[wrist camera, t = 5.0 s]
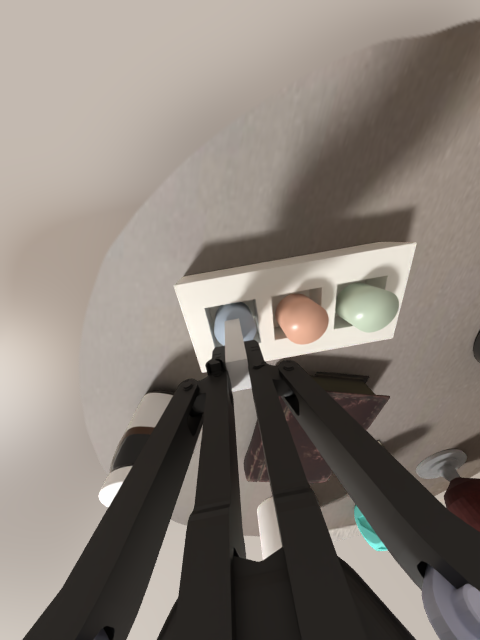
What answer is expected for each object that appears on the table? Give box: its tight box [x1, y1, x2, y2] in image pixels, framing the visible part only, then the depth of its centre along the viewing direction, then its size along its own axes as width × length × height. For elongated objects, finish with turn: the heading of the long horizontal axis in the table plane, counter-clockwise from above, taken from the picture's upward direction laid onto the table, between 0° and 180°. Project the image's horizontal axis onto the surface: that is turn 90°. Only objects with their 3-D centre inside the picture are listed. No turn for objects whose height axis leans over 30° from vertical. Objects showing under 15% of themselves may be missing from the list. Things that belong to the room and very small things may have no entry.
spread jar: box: [99, 391, 202, 507], centre depth 25 cm, size 12×11×12 cm
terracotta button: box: [275, 294, 329, 345], centre depth 19 cm, size 4×4×3 cm
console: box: [174, 242, 417, 373], centre depth 21 cm, size 24×11×4 cm, turn 99°
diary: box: [244, 372, 390, 483], centre depth 33 cm, size 19×25×5 cm
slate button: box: [214, 302, 256, 346], centre depth 20 cm, size 4×4×3 cm
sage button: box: [335, 282, 399, 333], centre depth 19 cm, size 4×4×3 cm
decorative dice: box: [354, 505, 388, 551], centre depth 50 cm, size 8×8×8 cm
